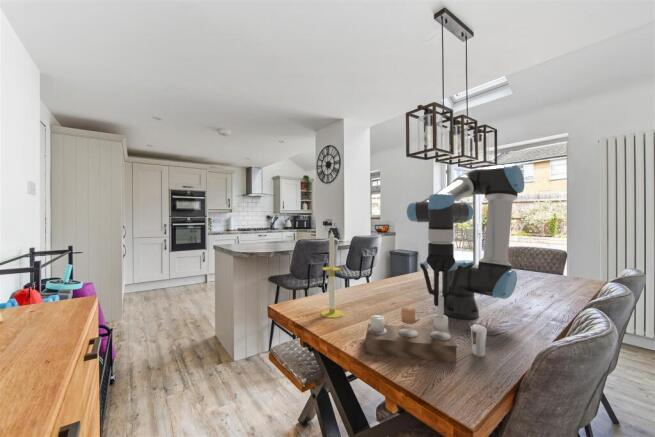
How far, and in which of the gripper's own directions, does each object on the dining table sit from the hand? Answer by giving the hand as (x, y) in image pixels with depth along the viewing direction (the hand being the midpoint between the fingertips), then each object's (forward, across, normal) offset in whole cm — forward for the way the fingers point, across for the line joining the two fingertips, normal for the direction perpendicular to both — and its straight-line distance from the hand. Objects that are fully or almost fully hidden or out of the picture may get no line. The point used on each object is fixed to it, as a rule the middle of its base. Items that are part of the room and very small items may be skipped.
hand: (440, 315), depth 92 cm
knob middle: (+3, +10, 0) cm, 10 cm away
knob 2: (+4, 0, 0) cm, 4 cm away
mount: (+12, +10, 0) cm, 15 cm away
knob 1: (+6, +20, 0) cm, 21 cm away
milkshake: (+12, -11, -1) cm, 16 cm away
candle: (+12, +41, -27) cm, 50 cm away
